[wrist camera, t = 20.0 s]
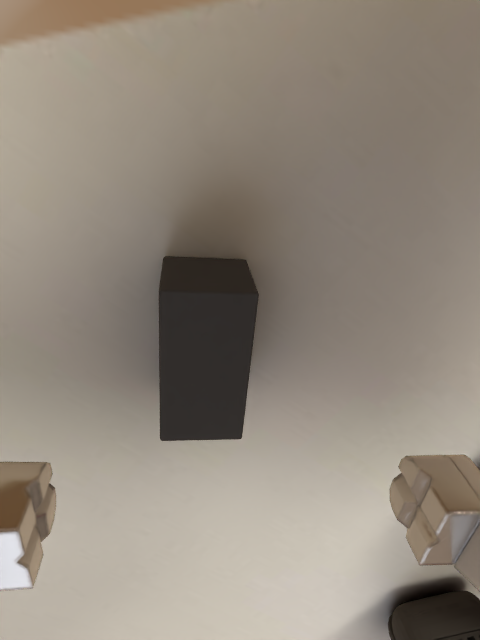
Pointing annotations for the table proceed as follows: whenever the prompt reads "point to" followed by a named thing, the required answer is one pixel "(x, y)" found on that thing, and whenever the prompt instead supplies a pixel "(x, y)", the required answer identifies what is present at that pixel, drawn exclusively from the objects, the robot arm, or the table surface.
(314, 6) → the table surface
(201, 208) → the table surface
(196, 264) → the eraser
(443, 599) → the headphones
